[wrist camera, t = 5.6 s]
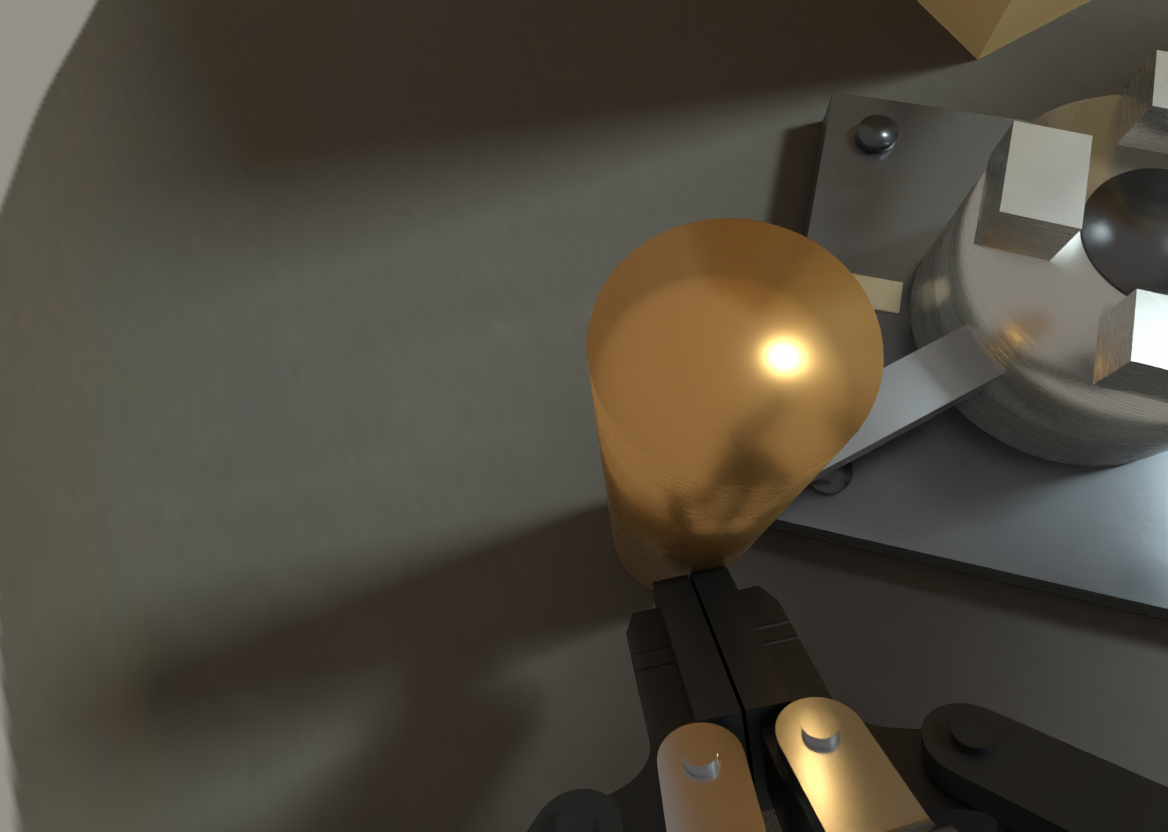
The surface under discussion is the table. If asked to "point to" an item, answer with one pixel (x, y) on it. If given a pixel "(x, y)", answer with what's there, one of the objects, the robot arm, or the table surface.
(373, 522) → the table surface
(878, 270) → the hub plate
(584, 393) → the table surface
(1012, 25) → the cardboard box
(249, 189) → the table surface
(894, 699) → the table surface
